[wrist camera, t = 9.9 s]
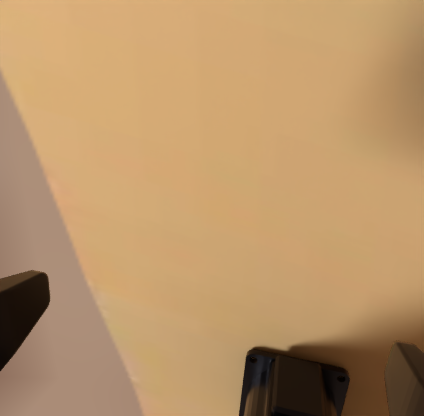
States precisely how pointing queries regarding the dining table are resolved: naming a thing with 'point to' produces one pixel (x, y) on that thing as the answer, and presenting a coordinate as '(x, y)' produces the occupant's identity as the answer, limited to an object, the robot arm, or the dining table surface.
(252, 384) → the robot arm
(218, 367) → the dining table surface
